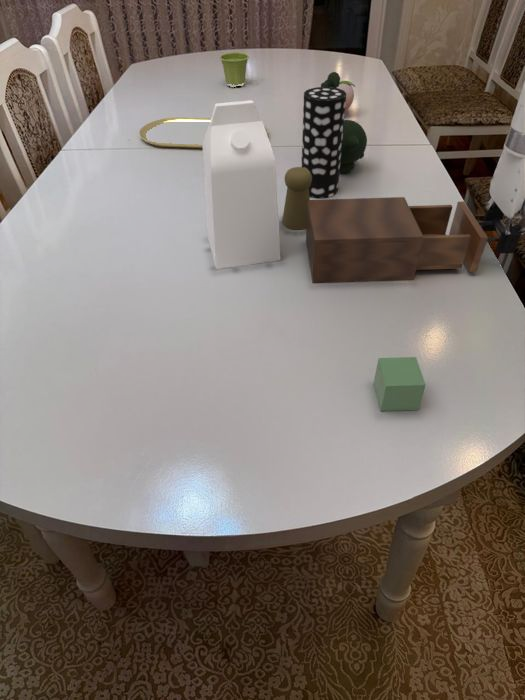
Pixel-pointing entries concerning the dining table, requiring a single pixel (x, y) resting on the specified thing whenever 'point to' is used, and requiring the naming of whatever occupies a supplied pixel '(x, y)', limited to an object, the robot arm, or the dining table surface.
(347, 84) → the decorative fruit
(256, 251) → the milk
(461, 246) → the drawer
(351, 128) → the toy figurine
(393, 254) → the cabinet
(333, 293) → the dining table surface
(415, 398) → the block
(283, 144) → the dining table surface
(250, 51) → the dining table surface
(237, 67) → the plant pot
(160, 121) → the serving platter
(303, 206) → the olive pawn
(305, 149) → the spotted tube
